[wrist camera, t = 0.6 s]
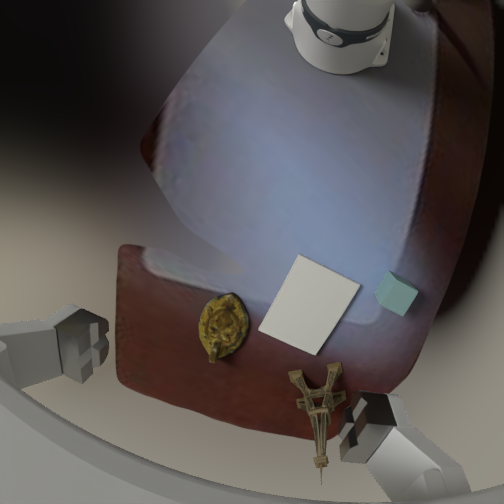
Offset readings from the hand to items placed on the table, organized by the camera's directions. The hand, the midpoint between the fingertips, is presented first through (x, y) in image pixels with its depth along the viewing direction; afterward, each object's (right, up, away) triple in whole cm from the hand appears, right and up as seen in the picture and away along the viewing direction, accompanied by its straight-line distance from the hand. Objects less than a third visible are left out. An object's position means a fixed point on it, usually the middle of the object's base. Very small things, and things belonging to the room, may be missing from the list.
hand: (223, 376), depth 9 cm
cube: (+26, -3, +42) cm, 49 cm away
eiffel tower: (+15, -24, +49) cm, 56 cm away
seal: (-5, -10, +49) cm, 50 cm away
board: (+11, -6, +45) cm, 46 cm away
